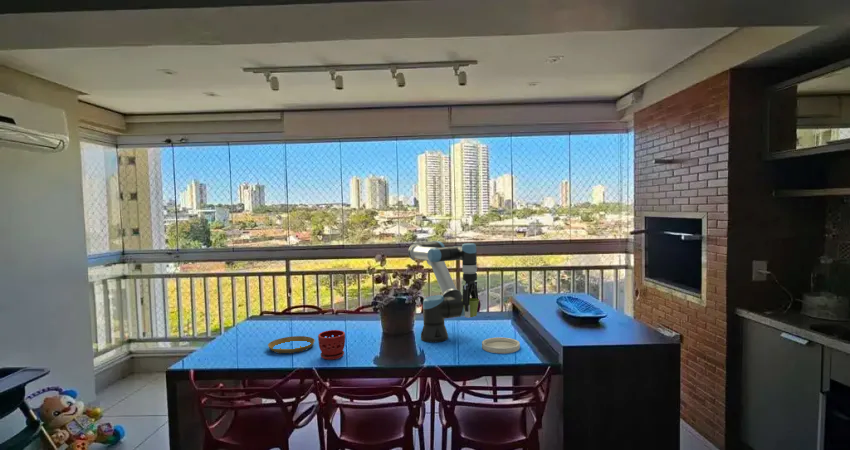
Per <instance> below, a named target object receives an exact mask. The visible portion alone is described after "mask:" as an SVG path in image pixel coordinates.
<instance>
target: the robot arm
mask: <svg viewBox="0 0 850 450" xmlns="http://www.w3.org/2000/svg"><path fill="white" fill-rule="evenodd" d="M477 252H478V251H477V245H476V243H471V242H470V243H467V242H466V243H462V245H454V246H446V247H445V244H444V243H443V242H441V241H439V240H438V241H436V240H433V241H418V242H415V243H412V244H411V245H410V246H409V248H408V250H407V255H408V257H409V258H410V259H411V260H412V261H416V260H415V259H414V258H417V259H420V260H422V261H426V263H427V264H428V266H430V267H431V269H432V271H433V273H434V277H435V280H436V281H437V284H438V287H439V289H440V291H441V294H437V295H436V294H435V295H430V296H427V297H425V298H424V299H423V300H422V312H423V313H422V315H423V316H422V317H423V318H422V319H423V327H422V328H421V329H422V330H421V333H420V339H421V341H422V342H426V343H440V342H444V341H446V340H448V339H449V334H448V331H447V328H446V325H445V319H452V318H458V317H459V318H460V317H465V318H469V319H470V318H471V317H470V305H469V302H470V298H473V299H475V298H477V299H479V291H478V281H477V280H478V273H477V272H478V262H477V261H478V259H477V257H478V256H477ZM452 261H462V267H461V268H462V280H463V281H464V282H465V284H464V285H462V291H460V290H459V289H457V287H456V286H455V285H456V284H455V282H454V280H453V277H452V275H451V273H450V271H449V269H448V266H447V265H446V262H452ZM462 299H463V302H462ZM463 305H465V312H464V306H463Z"/></svg>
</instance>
